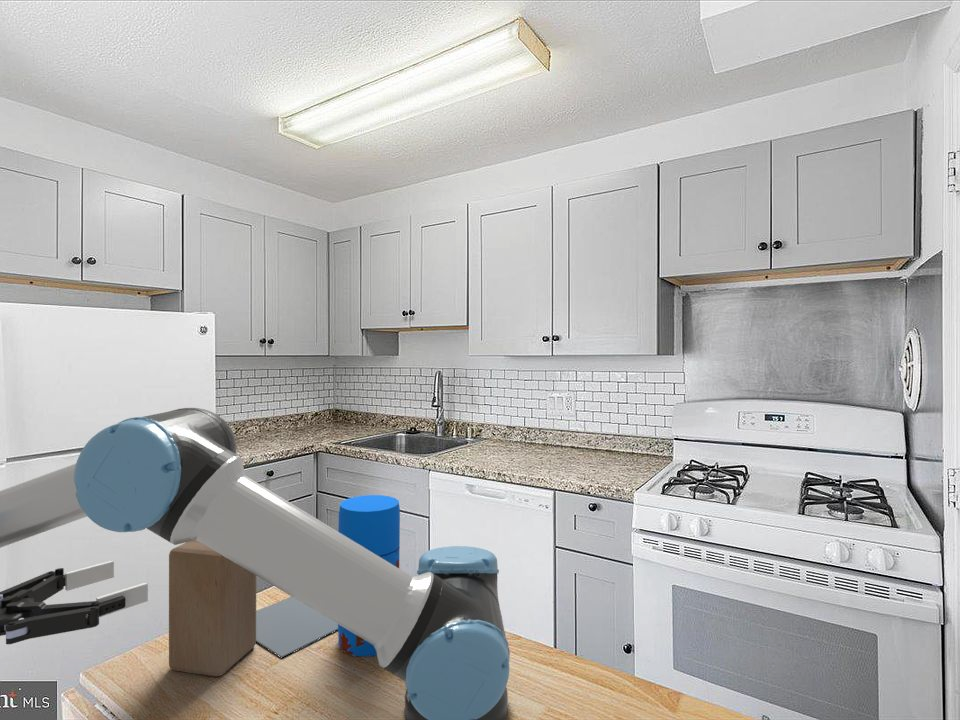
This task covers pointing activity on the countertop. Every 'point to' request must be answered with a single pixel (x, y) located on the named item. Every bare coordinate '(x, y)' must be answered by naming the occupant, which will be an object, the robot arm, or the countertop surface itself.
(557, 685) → the countertop surface
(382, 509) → the thermos
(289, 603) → the mat
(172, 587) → the block
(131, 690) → the countertop surface
